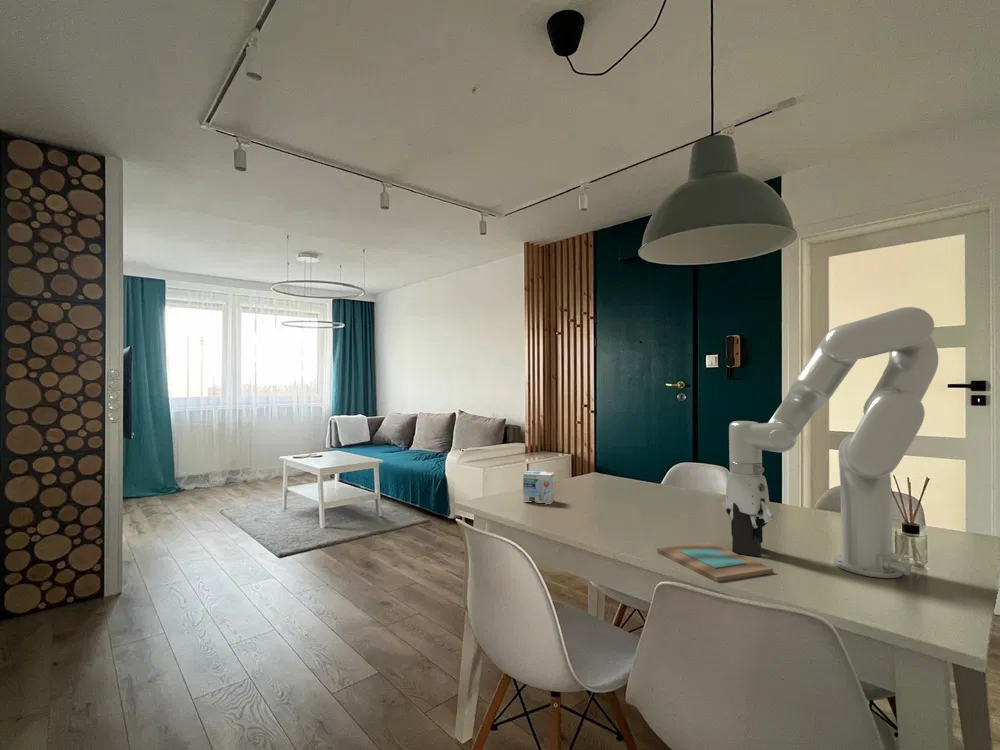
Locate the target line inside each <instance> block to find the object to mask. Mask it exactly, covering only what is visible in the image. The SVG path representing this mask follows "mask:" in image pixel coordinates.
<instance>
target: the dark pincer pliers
mask: <svg viewBox="0 0 1000 750" xmlns="http://www.w3.org/2000/svg"><path fill="white" fill-rule="evenodd" d="M758 514H759V511H758ZM756 520H757V521H758V520H759V517H756ZM751 527H753V525H752V521H751V518H750V515H747V514H744V513H741V512H740V511H739V508H738V506H737V505H736V504H735V503H733V536H732V548H731V552H734V553H736V554H739V555H742V556H743V555H744V556H751V557H757V558H759V557H760V554H761V549H762V543H759V537H758V539H757V537H756V535H755V536H754V539H753V541H752V538H751Z"/></svg>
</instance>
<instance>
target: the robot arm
mask: <svg viewBox="0 0 1000 750" xmlns="http://www.w3.org/2000/svg"><path fill="white" fill-rule="evenodd" d="M934 330H935V321H934V319H933V317H932V315H931V314H930V313H929V312H927V311H926V310H924V309H922V308H920V307H919V308H918V307H914V306H906V307H899V308H896V309H894V310H888V311H886V312H882V313H879V314H876V315H872V316H869V317H867V318H862V319H859V320H855V321H853V322H849V323H844V324H841V325H838V326H835V327H833V328H832V329H830V330H828V332H827V333H826V334H825V336H824V337H823V339H822V340H821V342H820V343H819V344H818V346H817V347H816V349H815V350H814V352H813V353H812V354H811V356H810V357H809V359H808V360H807V362H806V363H805V365H804V366H803V367H802V369H801V370H800V372H799V373H798V375H797V376H796V377H795V379H794V381H792V384H791V385H790V388H789V391H788V392H787V394H786V395H785V397H784V399H782V402H781V403H780V404H779V406H778V407H777V409H776V411H775V412H774V414H773V415H772V417H771V418H770V419H769V421H768V422H762V423H761V422H760V423H759V422H758V421H750V420H736V421H735V420H734V421H732V422H730V423H729V427H728V440H729V441H728V443H729V445H728V449H729V458H728V459H729V471H728V474H727V478H726V479H727V480H726V488H725V499H724V500H723V502H722V506H723V508H724V509H725V511H726V513H727V515H728V516H729V517H728V518H729V521H730V522H731V523H730V524H731V526H730V527H731V528H730V529H731V537H733V503H735V504H736V505H737V506H738V508H739V511H740V512H741V513H744V514H747V515H750V518H751V521H752V525H753V527H751V538H752V541H753V539H754V536H755V535H756V537H757V539H758V537H759V543H761V544H762V543H763V542H764V541H763V528H765V526H766V525H767V524H768V523H769V522H770V521H771V520H773V518H774V516H773V514H772V513H771V511H770V497H769V489H768V484H767V479H766V477H765V475H763V473H764V472H765V467H763V456H762V455H763V451H768V452H773V453H774V452H775V453H785V452H788V451H790V450H792V449H793V448H794V447H795V445H796V443H797V438H798V436H799V435H800V433H801V432H802V431H803V429H804V428H805V427H806V425H807V423H808V422H809V421H810V420H811V419H812V417H813V416H814V415H815V413H816V412H817V411H818V410H820V408H822V406H824V405H825V404H826V403H828V401H829V400H830V398H832V396H833V395H834V393H835V392H836V390H837V389H838V387H840V385H841V383H842V382H843V381H844V379H845V378H846V376H847V375H848V374H849V372H850V371H851V370H852V368H853V367H854V366H855V364H856V363H857V361H858V360H863V359H866V358H870V357H874V356H879V355H883V354H886V353H888V356H889V357H888V362H887V365H886V367H885V369H884V371H883V372H882V374H881V377H880V378H879V380H878V382H877V384H876V385H875V387H874V389H873V391H872V392H871V394H870V395H869V397H868V398H867V399H866V400H865V403H864V405H863V416H862V417H861V420H860V421H859V423H858V425H857V427H856V428H855V431H854V432H851V433H849V434H847V435H846V436H844V438H843V439H842V440H841V442H840V443H839V446H838V452H837V455H838V467H839V482H840V483H839V484H840V485H839V486H840V487H839V488H840V532H841V533H840V537H841V538H840V540H841V543H840V544H841V554H838V555H835V556H834V557H833V563H834V564H835V565H836V566H837V567H838V568H840V569H841V570H845V571H847V572H850V573H854V574H856V575H861V576H865V577H866V576H867V577H871V578H879V579H895V578H900V577H902V576H903V575H905V576H909V575H911V572H912V564H911V563H907V562H904V561H900V559H899V553H895V552H894V545H893V541H894V540H893V508H892V505H893V497H892V496H893V493H892V492H893V491H892V478H891V474H892V472H894V471H895V470H896V469H897V467H898V465H899V464H900V463H901V461H902V460H903V457H904V456H905V454H906V453H907V451H908V449H909V447H910V446H911V445H912V442H913V441H914V440H915V438H916V436H917V434H918V433H919V431H920V429H921V428H922V425H923V423H924V419H925V414H926V413H925V408H924V405H923V403H922V400H923V398H924V397H925V395H926V393H927V391H928V389H929V387H930V384H931V382H932V381H933V379H934V377H935V376H936V375H935V374H936V373H937V371H938V367H939V352H938V348H937V346H936V342H935V340H934V339H933V337H932V334H933V333H934ZM758 511H759V514H758ZM756 517H759V520H758V521H757V520H756Z"/></svg>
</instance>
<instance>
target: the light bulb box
mask: <svg viewBox="0 0 1000 750" xmlns="http://www.w3.org/2000/svg"><path fill="white" fill-rule="evenodd" d="M522 475H523V476H522V477H523V478H522V482H523V483H522V484H523V486H522V494H523V495H522V502H523V501H532V502H542V503H551V502H552V501H554V502H555V472H554V471H536V470H534V471H533V470H526V471H525V472H523V474H522Z"/></svg>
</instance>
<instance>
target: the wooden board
mask: <svg viewBox="0 0 1000 750" xmlns="http://www.w3.org/2000/svg"><path fill="white" fill-rule="evenodd" d="M657 553H658V554H660V555H662V556H664V557H666V558H668V559H670V560H672V561H674V562H676V563H677V564H680V565H682V566H684V567H686V568H688V569H689V570H692V571H694V572H695V573H698V574H700V575H702V576H704V577H706V578H708V579H710V580H712V581H714V582H715V583H718V582H724V581H731V580H738V579H743V578H749V577H750V578H751V577H757V576H763V575H767V574H770V575H771V574H774V568H773V567H770V566H768V565H766V564H763V563H761V562H758V561H756V560H753V559H750V558H749V557H746V556H743V555H742V554H737V553H734V552H732V550H728V549H726V548H724V547H721V546H718V545H716V544H714V543H711V542H709V541H706V542H705V541H704V542H699V543H698V542H697V543H689V544H682V545H675V546H666V547H658V548H657Z"/></svg>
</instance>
